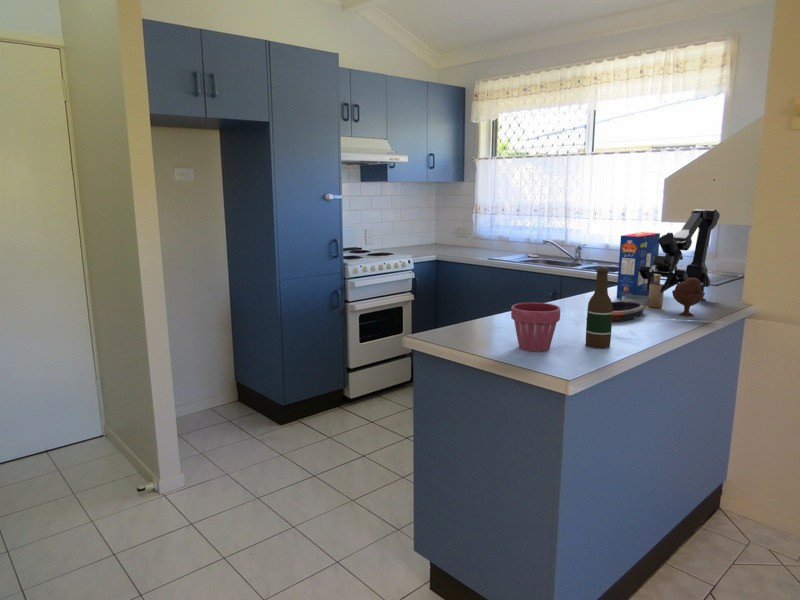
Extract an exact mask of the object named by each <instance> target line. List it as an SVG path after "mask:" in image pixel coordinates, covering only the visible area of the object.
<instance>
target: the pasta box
mask: <svg viewBox="0 0 800 600" xmlns="http://www.w3.org/2000/svg"><path fill="white" fill-rule="evenodd" d="M660 237H661V233H660V232H635V233H630V234H629V233H628V234H623V235H622V234H621V235H620V244H619V245H620V247H619V258H618V273H617V283H616V284H617V285H616V286H617V287H616V299H622V296H625V295H643V296H649V291H648V290H647V282H648V279H643V278H642V276H641V275H640V273H639V271H638V270H639V268H640V267H641V266H648V267H651V269H653V270H656V271H657V269H656V268H655V266H656V265H655V264H653V260H654V256H655V255H657V256H659V250H660V244H659V242H658V240H659V238H660Z"/></svg>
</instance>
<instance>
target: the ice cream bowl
mask: <svg viewBox="0 0 800 600" xmlns="http://www.w3.org/2000/svg"><path fill="white" fill-rule="evenodd" d="M671 291H672V296H673V299H674V300H675V301H676V302H677V303H678V304H679V305H682V306H683V308H684V309H683V311H682V312H680V313H679V314H678V316H681V317H689V318H691V317H694V316H695V315H694V314H692V313H691V312H690V308H691V307H692V306H694V305H697V304H698V303H700V302H702V301H703V300H702V299H703V298H705V294H706V293H705V291H704V292H702V290H701V282H700V281H699V280H698V279H697V278H688V279H687V280H686V281H683V282H680V283H679V284H676V285H675V288H674V289H673V290H671Z"/></svg>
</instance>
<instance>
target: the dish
mask: <svg viewBox="0 0 800 600" xmlns="http://www.w3.org/2000/svg"><path fill="white" fill-rule="evenodd" d="M611 302H612V306H613V315H612V323H613V322H614V323H615V322H624V321H629V320H633V319H636V318H638V317H640V316H641V315H642V314H643V312H644V310H645V309H646V308H645V304H644V303H640V302H634V301H622V300H617V301H611Z"/></svg>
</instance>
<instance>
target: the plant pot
mask: <svg viewBox="0 0 800 600" xmlns="http://www.w3.org/2000/svg"><path fill="white" fill-rule="evenodd" d="M510 310H511V311H510V312H511V313H510V316H511V320H513V322H514V327H515V333H516V338H517V343H518V347H519V349H521V350H523V351H525V352H538V353H539V352H546V351H549V350H550V348H551V345H552V340H553V337H554V333H555V331H556V327H557V323H558V322H559V321H560V320H561V306H559V305H556V304H551V303H546V302H534V301H533V302H519V303H516V304H513V305H512V306H511V308H510Z"/></svg>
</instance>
